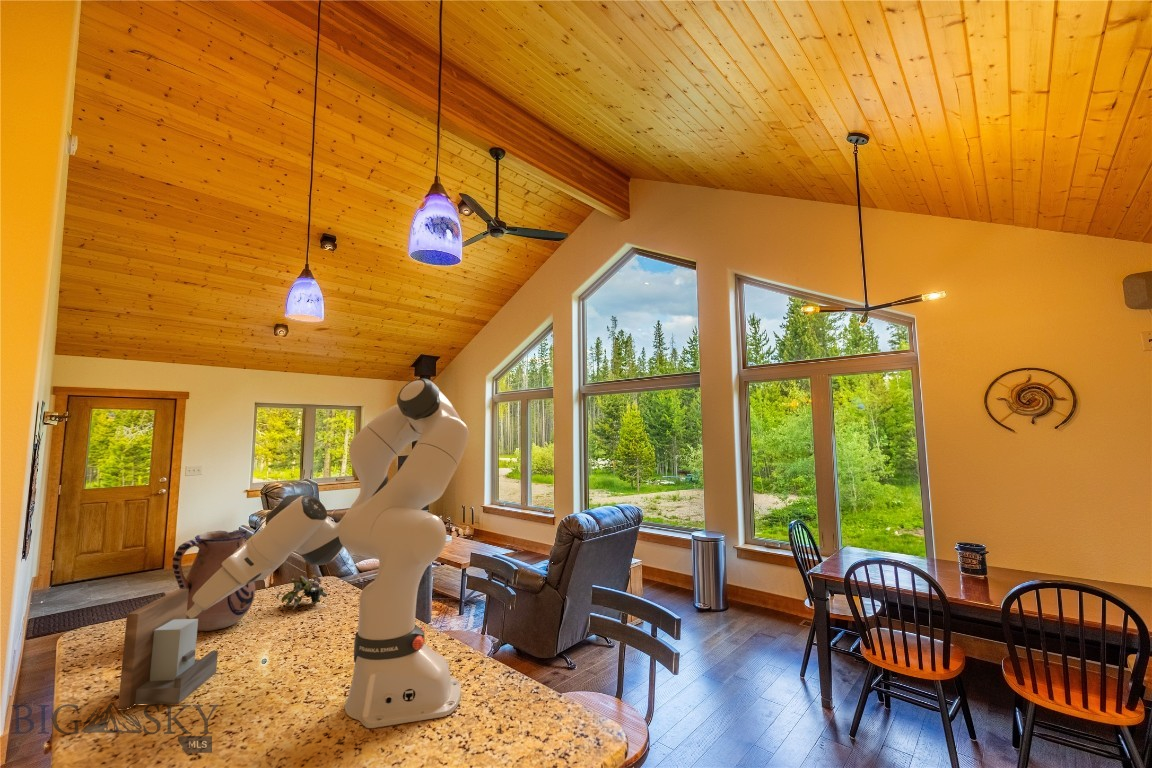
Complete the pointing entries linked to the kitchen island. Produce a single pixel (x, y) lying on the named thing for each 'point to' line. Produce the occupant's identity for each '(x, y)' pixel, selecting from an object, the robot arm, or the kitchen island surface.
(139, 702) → the wall board
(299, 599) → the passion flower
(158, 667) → the grey box with notch
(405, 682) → the robot arm
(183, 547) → the ceramic pitcher
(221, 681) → the kitchen island surface
